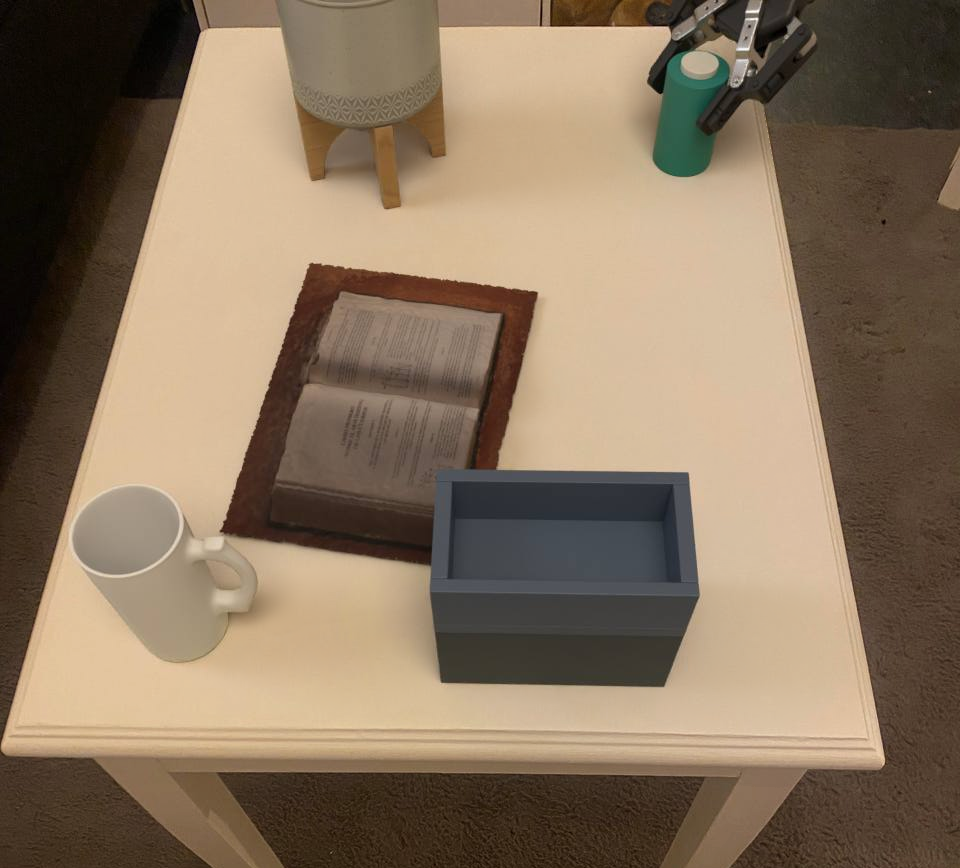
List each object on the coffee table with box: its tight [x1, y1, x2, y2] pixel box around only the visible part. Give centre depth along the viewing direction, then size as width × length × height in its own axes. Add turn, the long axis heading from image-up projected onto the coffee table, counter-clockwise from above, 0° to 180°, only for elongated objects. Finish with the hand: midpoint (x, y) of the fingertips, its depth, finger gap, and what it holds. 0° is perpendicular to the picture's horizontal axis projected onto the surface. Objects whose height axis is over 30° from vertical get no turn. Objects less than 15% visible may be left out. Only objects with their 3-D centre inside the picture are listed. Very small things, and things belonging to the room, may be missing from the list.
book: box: [218, 262, 539, 566], centre depth 74 cm, size 20×28×4 cm
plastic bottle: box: [652, 49, 731, 178], centre depth 84 cm, size 5×5×9 cm
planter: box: [274, 0, 447, 210], centre depth 81 cm, size 13×13×18 cm
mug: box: [67, 482, 259, 663], centre depth 61 cm, size 10×7×12 cm, turn 87°
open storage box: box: [429, 469, 701, 688], centre depth 60 cm, size 15×9×12 cm, turn 88°
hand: (677, 109), depth 83 cm, fingers open, 6 cm apart
